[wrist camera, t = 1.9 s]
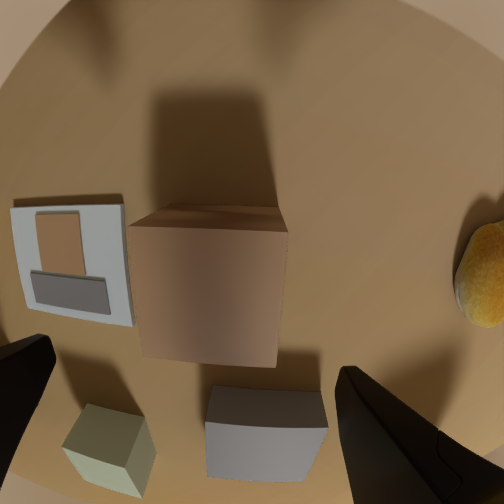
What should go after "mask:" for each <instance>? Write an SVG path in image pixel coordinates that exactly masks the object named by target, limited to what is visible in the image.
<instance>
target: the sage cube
mask: <svg viewBox="0 0 504 504" xmlns="http://www.w3.org/2000/svg"><path fill="white" fill-rule="evenodd" d="M61 447H62V449H63V450H64V452H65V453H66V455H67V456H68V458H69V459H70V461H71V462H72V463H73V465H74V466H75V468H76V469H77V470H78V472H79V473H80V474H81V476H82V477H83V478H84V480H85V481H87V482H90V483H93V484H96V485H99V486H102V487H105V488H108V489H111V490H114V491H117V492H121V493H124V494H127V495H131V496H135V497H139V498H143V495H144V492H145V488H146V485H147V482H148V479H149V475H150V472H151V469H152V466H153V463H154V459H155V456H156V450H155V447H154V444H153V441H152V438H151V435H150V432H149V429H148V425H147V422H146V419H145V417H142V416H137V415H133V414H128V413H124V412H119V411H115V410H111V409H107V408H103V407H100V406H96V405H92V404H89V403H87V404H86V406H85V408H84V409H83V411H82V413H81V414H80V416H79V418H78V419H77V421H76V422H75V424H74V426H73V428H72V429H71V431H70V433H69V434H68V436H67V438H66V439H65V441H64V443H63V445H62V446H61Z"/></svg>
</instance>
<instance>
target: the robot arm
mask: <svg viewBox="0 0 504 504" xmlns="http://www.w3.org/2000/svg"><path fill="white" fill-rule="evenodd" d="M55 364H56V354H55V351H54V348H53V345H52V342H51V339H50V338H49V336H47V335H44V334H35V335H33V336H30V337H27V338H24V339H21V340H19V341H16V342H13V343H10V344H7V345H5V346H2V347H0V490H1V487H2V484H3V481H4V478H5V476H6V473H7V471H8V468H9V466H10V463H11V461H12V459H13V456H14V454H15V452H16V449H17V447H18V445H19V442H20V440H21V438H22V436H23V434H24V432H25V429H26V427H27V425H28V423H29V421H30V419H31V417H32V415H33V413H34V411H35V409H36V407H37V406H38V403H39V401H40V399H41V397H42V394H43V392H44V390H45V387H46V385H47V382H48V380H49V378H50V375H51V373H52V371H53V368H54V366H55ZM335 401H336V410H337V419H338V428H339V437H340V443H341V447H342V452H343V456H344V460H345V465H346V469H347V474H348V478H349V483H350V487H351V492H352V497H353V501H354V504H504V469H503V468H501V467H499V466H497V465H495V464H493V463H491V462H489V461H487V460H486V459H484V458H482V457H481V456H479V455H477V454H475V453H474V452H472V451H470V450H469V449H467V448H465V447H464V446H462V445H461V444H459V443H458V442H456V441H455V440H453V439H452V438H451V437H449V436H448V435H446V434H445V433H444V432H442V431H441V430H439V431H438V428H437V427H435V426H434V425H433V424H431V423H430V422H429V421H427V420H426V419H425V418H423V417H422V416H421V415H419V414H418V413H417V412H415V411H414V410H413V409H411V408H410V407H409V406H407V405H406V404H405V403H404V402H402V401H401V400H400V399H398V398H397V397H396V396H394V395H393V394H392V393H390V392H389V391H388V390H387V389H385V388H384V387H383V386H381V385H380V384H379V383H377V382H376V381H375V380H374V379H372V378H371V377H370V376H368V375H367V374H366V373H365V372H363V371H362V370H361V369H359V368H358V367H357V366H343V367H341V369H340V372H339V375H338V379H337V383H336V386H335Z"/></svg>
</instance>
